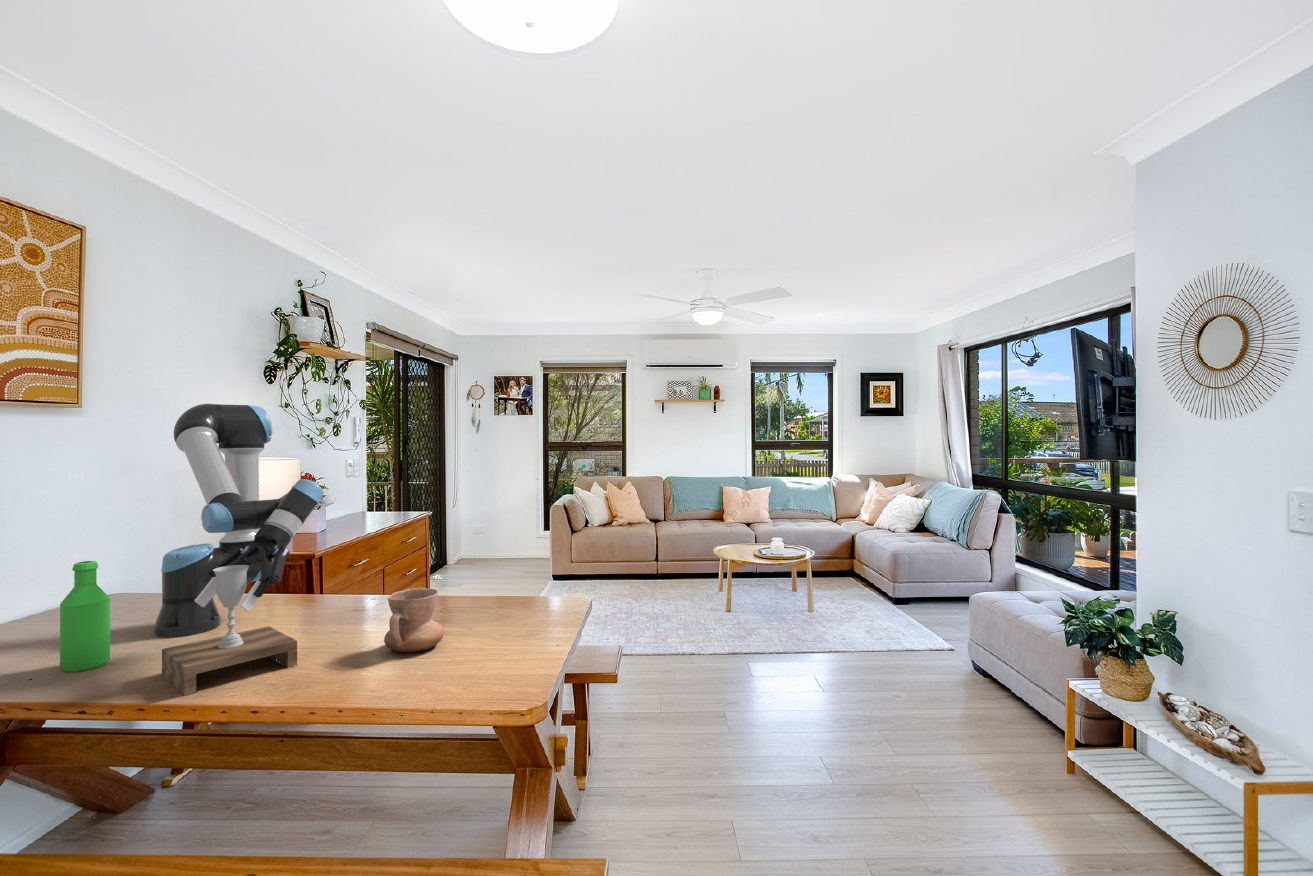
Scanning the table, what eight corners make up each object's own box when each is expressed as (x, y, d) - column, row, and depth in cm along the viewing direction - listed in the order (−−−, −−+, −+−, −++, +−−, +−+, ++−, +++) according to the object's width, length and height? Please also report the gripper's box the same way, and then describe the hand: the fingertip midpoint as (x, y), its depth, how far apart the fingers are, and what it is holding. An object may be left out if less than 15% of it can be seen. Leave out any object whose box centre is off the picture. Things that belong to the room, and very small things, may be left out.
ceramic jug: (410, 634, 170) (409, 584, 170) (457, 638, 167) (456, 586, 166) (365, 659, 153) (364, 602, 152) (416, 663, 149) (415, 605, 149)
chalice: (229, 650, 140) (230, 572, 140) (204, 648, 141) (205, 570, 141) (256, 640, 147) (256, 565, 147) (232, 638, 148) (232, 564, 149)
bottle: (66, 676, 141) (66, 567, 141) (54, 668, 145) (54, 563, 145) (116, 664, 148) (115, 560, 148) (102, 657, 153) (102, 557, 153)
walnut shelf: (161, 675, 141) (161, 649, 141) (268, 649, 158) (268, 626, 158) (184, 695, 130) (184, 667, 130) (297, 665, 147) (297, 640, 147)
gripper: (325, 542, 155) (273, 618, 141) (249, 538, 162) (192, 610, 148) (308, 524, 150) (252, 601, 136) (230, 521, 157) (169, 593, 143)
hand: (221, 606), depth 142 cm, fingers open, 13 cm apart
